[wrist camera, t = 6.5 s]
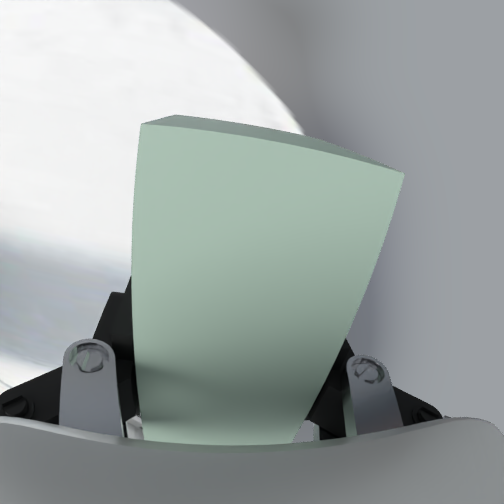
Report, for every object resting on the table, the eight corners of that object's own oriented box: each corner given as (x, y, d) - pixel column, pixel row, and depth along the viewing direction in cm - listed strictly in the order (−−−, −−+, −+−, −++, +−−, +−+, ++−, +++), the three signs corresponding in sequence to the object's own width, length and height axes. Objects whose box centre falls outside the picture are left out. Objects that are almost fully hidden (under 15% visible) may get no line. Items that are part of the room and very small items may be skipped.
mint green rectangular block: (317, 138, 10) (405, 173, 5) (250, 395, 15) (265, 483, 10) (176, 114, 9) (141, 123, 4) (158, 389, 14) (151, 481, 9)
